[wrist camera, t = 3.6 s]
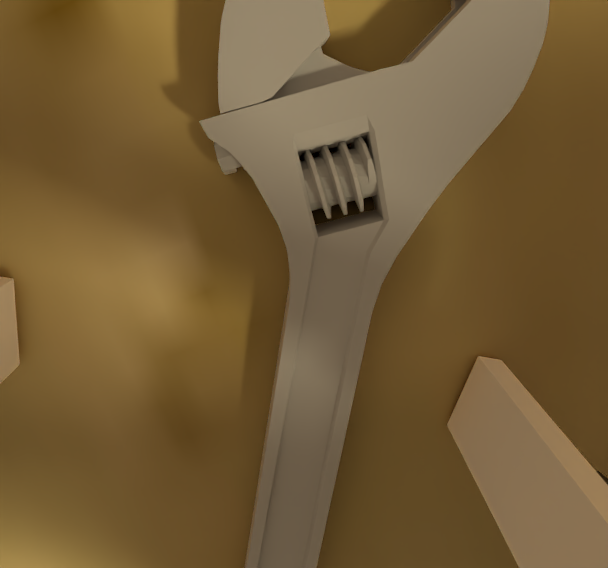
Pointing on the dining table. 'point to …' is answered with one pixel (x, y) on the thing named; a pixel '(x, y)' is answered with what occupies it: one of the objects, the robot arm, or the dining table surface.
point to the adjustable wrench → (339, 190)
